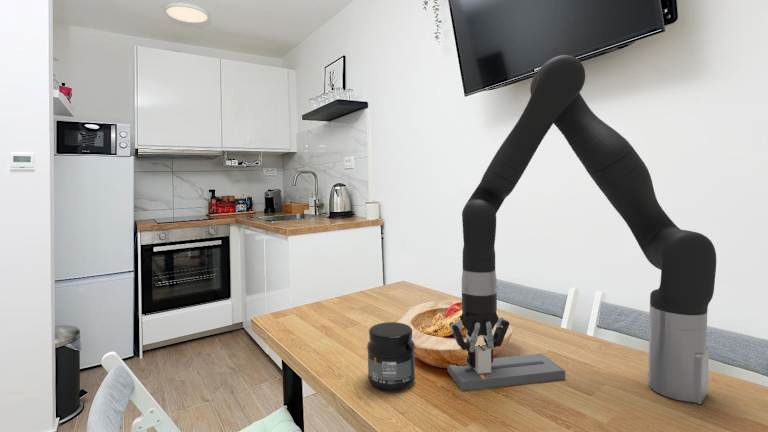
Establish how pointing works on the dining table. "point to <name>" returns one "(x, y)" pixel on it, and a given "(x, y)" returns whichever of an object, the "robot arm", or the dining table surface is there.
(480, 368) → the block
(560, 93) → the robot arm
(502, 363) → the slider board
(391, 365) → the supplement container
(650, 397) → the dining table surface
